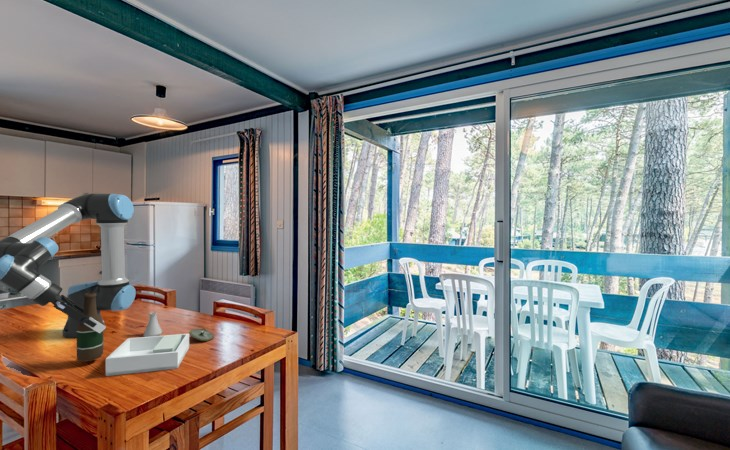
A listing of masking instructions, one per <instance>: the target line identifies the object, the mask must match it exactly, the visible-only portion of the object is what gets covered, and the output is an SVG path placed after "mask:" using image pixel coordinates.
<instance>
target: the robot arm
mask: <svg viewBox="0 0 730 450" xmlns="http://www.w3.org/2000/svg"><path fill="white" fill-rule="evenodd" d="M134 212H135V208H134V204H133V201H132V200H131V199H130V198H129V197H128V196H127V195H124V194H118V193H86V194H82V195H79V196H76V197H74V198H71V199H69V200H67V201H65V202H64V203H62V204H60V205H58V207H57V209H56V210H54V211H52V212H50V213H48V214H47V215H45V216H43V217H42V218H39V219H37V220H35V221H33V222H32V223H30V224H28V225H26V226H24V227H22V228H21V229H19V230H17V231H15V232H14V233H12V234H10V235H8V236H6V237H4V238H3V239H1V240H0V283H1V284H3V285H5V286H7V287H9V288H10V289H12V290H14V291H15V292H17V293H19V294H20V297H22V298H23V297H24V296H25V297H26V298H28V299H29V300H31V299H32V300H33V302H34V303H36V304H37V305H39V306H41V307H45V306H46V305H48V304H49V303H51V304H52V307H54V308H55V309H56V310H58V311H60V312H62V313H63V314H65V315H66V316H67V319H66V322H65V323H64V327H63V330H62V337H63V338H70V339H73V338H74V339H75V338H76V339H77V325H78V322H79V323H80V325H81V326H82V325H83V324H85V325H86V326H88V327H90V328H91V329H93V330H95V331H96V332H98V333H101V332H102V331H103V332H104V331H105V329H106V328H107V326H106V324H105V321H104V319H103V316H102V314H101V312H102V311H103V312H104V311H108V312H109V311H112V312H119V311H125V310H127V309H129V308H130V307H131V306H132V304H133V303H134V301H135V298H136V292H137V290H136V288H135V287H134V286H133V285H131V284H130V280H129V279H128V278H127V277H126V267H125V266H126V265H125V264H126V259H125V257H126V256H125V255H126V254H125V226H126V225H128V223H129V222H128V221H129V220H130V219H131V218H133V215H134V214H135V213H134ZM84 220H95V224H96V225H97V226H99V227H100V243H101V244H100V250H101V251H100V252H101V253H100V255H101V280H99V281H98V280H94V281H88V282H82V283H76V284H72V285H70V286H69V287H68V288H67V294H66V295H64V294H61V292H62V291H63V287H61V286H60V285H58V284H56V283H52V281H51V280H50V279H49V278H48V277H46V276H44V275H43V274H40V273H39V272H37V270H39V268H41V267H42V266H43V265H44V264H45V263H47V262H48V261H49V260H51V259H52V258H53V257H54V256H55V254H57V253H58V251H59V245H58V244H57V242H56V241H54V240H53V239H51V238H50V237H52V236H54V235H56V234H58V233H59V232H60V231H62V230H64V229H65V228H67V227H69V226H70V225H72V224H79V223H80V222H81V221H84ZM87 293H96V295H97V296H95V297H96V309H97V314H98V315H99V316H100V317H101V318H102V320H103V325H102V324H101V323H99V322H98V321H96V320H94V319H93V318H91V317H90V318H89V317H88V316H86V315H85V314H84V313H83V312H84V299H85V298H84V295H85V294H87ZM60 294H61V295H60ZM82 318H83V319H82ZM81 319H82V320H81Z"/></svg>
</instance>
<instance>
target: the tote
mask: <svg viewBox="0 0 730 450" xmlns="http://www.w3.org/2000/svg"><path fill="white" fill-rule="evenodd" d="M173 335H174V334H167V335H157V336H151V337H146V336H140V337H128V338H127V339H125V340H124V341H123V342H122V343H121V344H120V345H118V346H117V348H116V349H115V350H113V351H112V352H111V353H110V354H109V355H108V356H107V357H106V358H105V377H110V376H120V375H121V376H122V375H129V374H139V373H141V374H142V373H149V372H156V371H157V372H158V371H168V370H177V369H178V368H179V367H180V366H181V364H182V362H183V360H184V358H185V356H186V354H187V352H188V351H189V349H190V334H189V333H177V334H176V333H175V335H182V337H181V343H180V345H179V346H178V348H177V350H176V351H174V352H163V353H153V349H154V348H155V347H156V345H157V344H158V343H159V342H160V340H161V339H162V338H163V337H164V336H173Z"/></svg>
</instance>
